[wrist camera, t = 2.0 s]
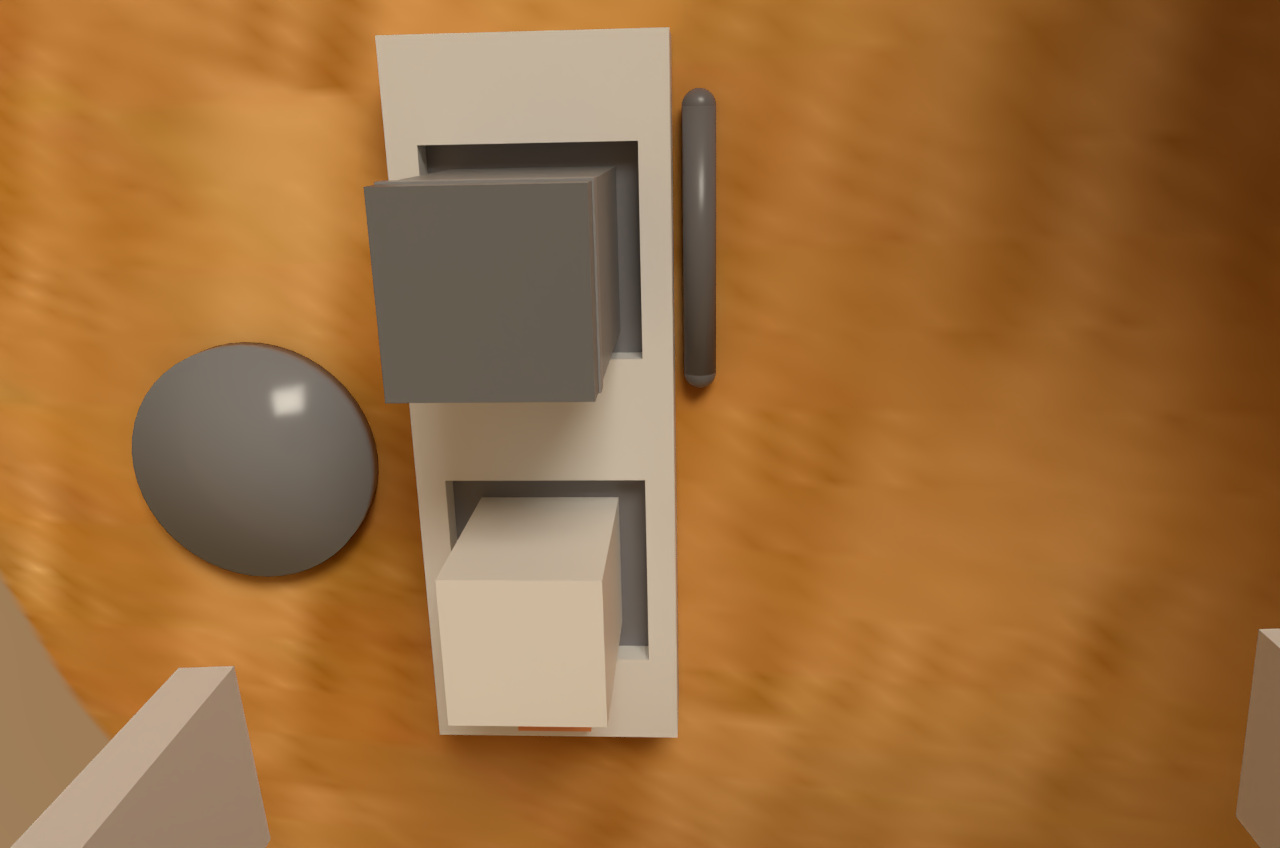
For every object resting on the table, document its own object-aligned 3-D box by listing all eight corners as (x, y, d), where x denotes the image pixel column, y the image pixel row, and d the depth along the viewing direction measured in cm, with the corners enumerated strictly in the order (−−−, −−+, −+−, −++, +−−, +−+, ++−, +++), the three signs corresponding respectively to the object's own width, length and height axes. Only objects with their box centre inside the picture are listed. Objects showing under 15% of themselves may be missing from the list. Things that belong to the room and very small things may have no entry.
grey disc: (126, 343, 33) (112, 348, 32) (365, 340, 32) (357, 346, 31) (165, 566, 35) (153, 576, 34) (389, 566, 35) (382, 577, 34)
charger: (449, 167, 29) (361, 184, 21) (617, 164, 29) (589, 180, 21) (461, 333, 30) (383, 405, 23) (622, 331, 30) (597, 404, 22)
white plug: (481, 497, 32) (435, 580, 26) (618, 497, 32) (601, 580, 26) (490, 620, 33) (448, 725, 27) (622, 621, 33) (607, 727, 27)
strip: (400, 42, 29) (368, 33, 26) (715, 33, 29) (718, 23, 26) (456, 693, 36) (435, 745, 33) (715, 696, 35) (717, 749, 32)
